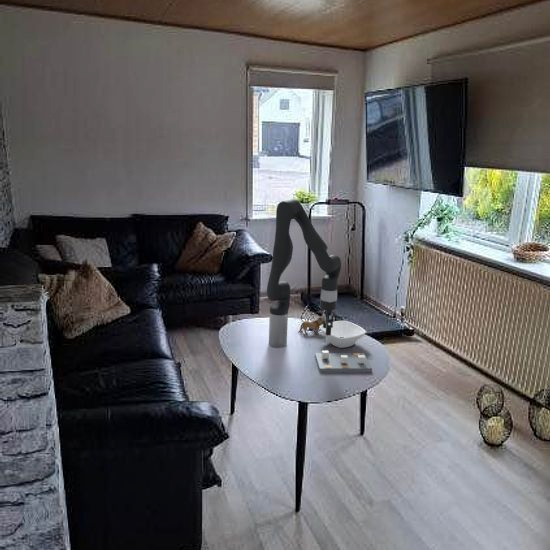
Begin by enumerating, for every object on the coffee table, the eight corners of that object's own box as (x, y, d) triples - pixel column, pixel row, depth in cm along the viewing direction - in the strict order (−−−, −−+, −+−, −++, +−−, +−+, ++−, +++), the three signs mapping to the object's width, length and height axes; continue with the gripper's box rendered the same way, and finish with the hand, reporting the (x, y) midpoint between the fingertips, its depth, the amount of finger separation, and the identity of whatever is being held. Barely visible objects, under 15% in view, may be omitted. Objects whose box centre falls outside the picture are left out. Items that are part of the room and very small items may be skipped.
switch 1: (321, 356, 235) (321, 350, 235) (327, 356, 236) (328, 350, 235) (322, 358, 233) (322, 352, 232) (328, 358, 233) (329, 352, 232)
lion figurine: (322, 330, 273) (323, 314, 270) (325, 334, 268) (326, 318, 265) (296, 331, 269) (297, 316, 267) (299, 335, 264) (299, 320, 262)
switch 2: (340, 361, 231) (340, 355, 230) (346, 360, 231) (347, 355, 231) (341, 363, 229) (341, 357, 228) (347, 363, 229) (348, 357, 228)
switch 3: (357, 360, 232) (357, 355, 231) (363, 360, 232) (363, 355, 231) (358, 363, 229) (358, 357, 229) (364, 363, 230) (365, 357, 229)
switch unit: (314, 356, 240) (315, 352, 239) (363, 356, 242) (363, 352, 241) (319, 372, 225) (320, 368, 224) (371, 372, 226) (372, 367, 226)
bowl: (343, 333, 269) (344, 318, 267) (370, 347, 253) (371, 332, 250) (313, 340, 258) (314, 325, 256) (338, 356, 242) (339, 340, 239)
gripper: (318, 293, 233) (316, 325, 237) (322, 303, 219) (321, 337, 223) (334, 293, 233) (332, 325, 238) (339, 303, 219) (337, 337, 224)
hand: (326, 331), depth 230 cm, fingers open, 8 cm apart
